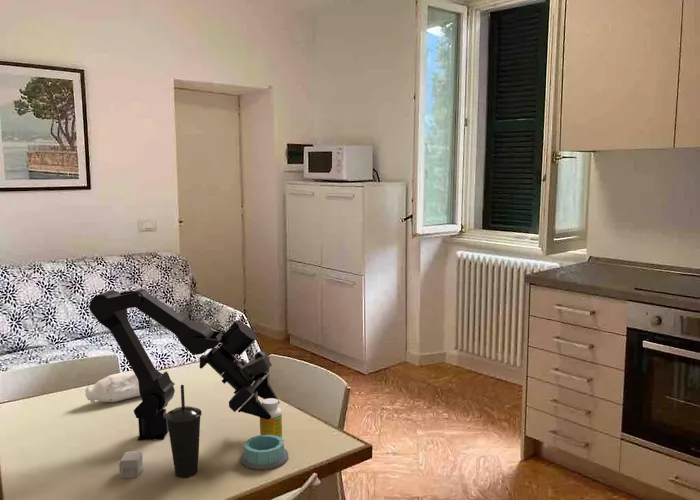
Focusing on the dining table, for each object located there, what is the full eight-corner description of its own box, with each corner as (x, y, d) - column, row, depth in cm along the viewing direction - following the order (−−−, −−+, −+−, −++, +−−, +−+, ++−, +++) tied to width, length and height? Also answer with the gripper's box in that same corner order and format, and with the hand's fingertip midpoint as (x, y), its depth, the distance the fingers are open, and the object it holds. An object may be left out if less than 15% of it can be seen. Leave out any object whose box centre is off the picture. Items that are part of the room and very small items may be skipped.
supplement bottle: (278, 443, 148) (277, 405, 147) (257, 442, 149) (256, 404, 148) (285, 434, 153) (284, 397, 152) (264, 433, 154) (263, 396, 153)
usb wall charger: (143, 467, 137) (142, 450, 136) (136, 482, 130) (135, 465, 129) (124, 468, 136) (123, 452, 136) (116, 484, 129) (115, 466, 129)
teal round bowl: (238, 471, 134) (237, 455, 134) (242, 449, 145) (242, 434, 144) (287, 468, 135) (287, 452, 134) (288, 447, 146) (288, 432, 145)
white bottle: (83, 403, 177) (81, 377, 176) (147, 388, 188) (145, 363, 187) (91, 411, 170) (89, 384, 169) (157, 395, 182) (155, 369, 181)
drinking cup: (172, 465, 137) (167, 380, 135) (206, 463, 138) (202, 378, 136) (165, 482, 130) (160, 392, 127) (201, 480, 130) (197, 390, 128)
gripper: (240, 356, 139) (288, 403, 139) (259, 335, 158) (303, 376, 158) (208, 388, 141) (256, 435, 141) (231, 364, 159) (274, 405, 160)
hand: (274, 411), depth 150 cm, fingers open, 9 cm apart
